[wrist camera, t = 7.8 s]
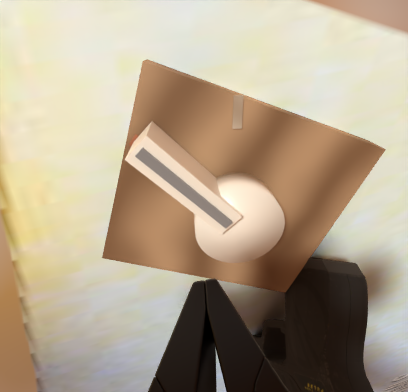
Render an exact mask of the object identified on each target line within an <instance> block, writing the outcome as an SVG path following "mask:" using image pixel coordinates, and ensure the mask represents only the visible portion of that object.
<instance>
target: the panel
mask: <svg viewBox="0 0 408 392" xmlns="http://www.w3.org/2000/svg"><path fill="white" fill-rule="evenodd" d="M152 121H153V122H154V123H155V124H156V125H157V126H158V127H159V128H160V129H162V130H163V131H164V132H165V133H166V134H167V135H168V136H169V137H171V138H172V139H173V140H174V141H175V142H176V143H177V144H178V145H180V146H181V147H182V148H183V149H184V150H185V151H186V152H187V153H189V154H190V155H191V156H192V157H193V158H194V159H195V160H196V161H198V162H199V163H200V164H201V165H202V166H203V167H204V168H205V169H207V170H208V171H209V172H210V173H211V174H212V175H213V176H214V177H216V178H217V177H219V176H222V175H225V174H229V173H246V174H250V175H253V176H255V177H257V178H259V179H261V180H262V181H263V182H264V183H265V184H266V185H267V186H268V187H269V189H270V191H271V192H272V194H273V196H274V197H275V199H276V200H277V202H278V204H279V205H280V207H281V209H282V211H283V213H284V218H285V226H284V231H283V234H282V236H281V238H280V240H279V241H278V242H277V244H276V245H275V246H274V247H273V248H272V249H271V250H270V251H269V252H267V253H266V254H264V255H263V256H261V257H259V258H256V259H254V260H251V261H247V262H242V263H227V262H222V261H219V260H216V259H214V258H212V257H210V256H208V255H207V254H206V253H205V252H204V251H203V250H202V249H201V248H200V246H199V245H198V242H197V240H196V236H195V224H194V213H193V212H191V211H190V210H189V209H188V208H186V207H185V206H184V205H182V204H181V203H180V202H179V201H177V200H176V199H175V198H173V197H172V196H171V195H169V194H168V193H167V192H166V191H164V190H163V189H162V188H160V187H159V186H158V185H157V184H155V183H154V182H153V181H151V180H150V179H149V178H147V177H146V176H145V175H144V174H142V173H141V172H140V171H138V170H137V169H136V168H135V167H133V166H132V165H131V164H129V163H128V162H127V161H126V160H125V158H126V156H127V154H128V152H129V150H130V148H131V146H132V144H133V142H134V141H135V140H136V139H137V138H138V136H139V135H140V134H141V133H142V132H143V131H144V130H145V128H146V127H147V126H148V125H149V124H150V123H151V122H152ZM385 150H386V149H384V148H382V147H380V146H378V145H376V144H374V143H372V142H370V141H368V140H365V139H363V138H360V137H357V136H354V135H352V134H349V133H346V132H343V131H341V130H338V129H335V128H333V127H330V126H327V125H324V124H322V123H319V122H316V121H313V120H311V119H308V118H305V117H303V116H300V115H297V114H294V113H292V112H289V111H286V110H283V109H281V108H278V107H275V106H273V105H270V104H267V103H264V102H262V101H259V100H256V99H254V98H251V97H248V96H245V95H243V94H240V93H237V92H234V91H232V90H229V89H226V88H224V87H221V86H218V85H215V84H213V83H210V82H207V81H204V80H202V79H199V78H196V77H194V76H191V75H188V74H185V73H183V72H180V71H177V70H174V69H172V68H169V67H166V66H164V65H161V64H158V63H155V62H153V61H150V60H145V61H143V63H142V68H141V73H140V78H139V83H138V88H137V92H136V97H135V102H134V107H133V112H132V117H131V121H130V126H129V131H128V136H127V141H126V146H125V150H124V155H123V160H122V165H121V170H120V175H119V179H118V184H117V189H116V194H115V199H114V204H113V208H112V213H111V218H110V223H109V228H108V233H107V238H106V242H105V247H104V252H103V257H102V258H105V259H110V260H116V261H121V262H126V263H131V264H137V265H142V266H147V267H153V268H158V269H163V270H168V271H174V272H179V273H184V274H189V275H195V276H200V277H205V278H211V279H214V278H215V279H217V280H221V281H226V282H232V283H237V284H242V285H247V286H253V287H258V288H263V289H269V290H274V291H279V292H284V293H286V291H287V290H288V289H289V287H290V286H291V284H292V283H293V281H294V280H295V278H296V277H297V276H298V274H299V273H300V271H301V270H302V268H303V267H304V266H305V264H306V263H307V261H308V259H309V258H310V257H311V256H312V254H313V253H314V251H315V250H316V248H317V247H318V246H319V244H320V243H321V241H322V240H323V238H324V237H325V236H326V234H327V233H328V231H329V230H330V228H331V227H332V226H333V224H334V223H335V221H336V220H337V218H338V217H339V216H340V214H341V213H342V211H343V210H344V208H345V207H346V206H347V204H348V203H349V201H350V200H351V198H352V197H353V195H354V194H355V193H356V191H357V190H358V188H359V187H360V185H361V184H362V183H363V181H364V180H365V178H366V177H367V175H368V174H369V173H370V171H371V170H372V168H373V167H374V165H375V164H376V163H377V161H378V160H379V158H380V157H381V155H382V154H383V153H384V151H385Z"/></svg>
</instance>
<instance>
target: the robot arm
mask: <svg viewBox="0 0 408 392" xmlns="http://www.w3.org/2000/svg"><path fill="white" fill-rule="evenodd" d="M215 347H216V351H217V355H218V359H219V363H220V367H221V371H222V375H223V379H224V383H225V387H226V391H227V392H289V390H288V389H287V388H286V387H285V385H284V384H283V382H282V381H281V379H280V378H279V376H278V375H277V373H276V372H275V370H274V369H273V367H272V366H271V364H270V363H269V361H268V359H267V358H266V357H265V355H264V353H263V352H262V350H261V349H260V347H259V345H258V344H257V342H256V341H255V339H254V338H253V336H252V334H251V333H250V331H249V330H248V328H247V326H246V325H245V323H244V322H243V320H242V319H241V317H240V315H239V314H238V312H237V311H236V309H235V308H234V306H233V304H232V303H231V301H230V300H229V298H228V296H227V295H226V293H225V292H224V290H223V289H222V287H221V285H220V284H219V282H218V281H217V279H215V278H214V279H208V280H206V281H197V282H194V283H193V284H192V287H191V289H190V292H189V294H188V296H187V299H186V301H185V304H184V306H183V309H182V311H181V313H180V316H179V318H178V321H177V323H176V325H175V328H174V330H173V333H172V335H171V338H170V340H169V342H168V345H167V347H166V350H165V352H164V354H163V357H162V359H161V362H160V364H159V367H158V369H157V371H156V374H155V376H156V377H154V378H153V381H152V383H151V386H150V388H149V391H148V392H216V351H215Z"/></svg>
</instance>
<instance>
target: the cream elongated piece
mask: <svg viewBox="0 0 408 392" xmlns="http://www.w3.org/2000/svg"><path fill="white" fill-rule="evenodd" d="M125 160H126V161H127V162H128V163H129V164H131V165H132V166H133V167H135V168H136V169H137V170H138V171H140V172H141V173H142V174H144V175H145V176H146V177H147V178H149V179H150V180H151V181H153V182H154V183H155V184H157V185H158V186H159V187H160V188H162V189H163V190H164V191H166V192H167V193H168V194H169V195H171V196H172V197H173V198H175V199H176V200H177V201H179V202H180V203H181V204H182V205H184V206H185V207H186V208H188V209H189V210H190V211H191V212H193V213H194V224H195V236H196V240H197V242H198V245H199V246H200V248H201V249H202V250H203V251H204V252H205V253H206V254H207V255H208V256H210V257H212V258H214V259H216V260H219V261H222V262H227V263H242V262H247V261H251V260H254V259H256V258H259V257H261V256H263V255H264V254H266V253H267V252H269V251H270V250H271V249H272V248H273V247H274V246H275V245H276V244H277V242H278V241H279V240H280V238H281V236H282V234H283V231H284V226H285V218H284V213H283V211H282V209H281V207H280V205H279V204H278V202H277V200H276V199H275V197H274V196H273V194H272V192H271V191H270V189H269V187H268V186H267V185H266V184H265V183H264V182H263V181H262V180H261V179H259V178H257V177H255V176H253V175H250V174H246V173H229V174H225V175H222V176H219V177H217V178H216V177H214V176H213V175H212V174H211V173H210V172H209V171H208V170H207V169H205V168H204V167H203V166H202V165H201V164H200V163H199V162H198V161H196V160H195V159H194V158H193V157H192V156H191V155H190V154H189V153H187V152H186V151H185V150H184V149H183V148H182V147H181V146H180V145H178V144H177V143H176V142H175V141H174V140H173V139H172V138H171V137H169V136H168V135H167V134H166V133H165V132H164V131H163V130H162V129H160V128H159V127H158V126H157V125H156V124H155V123H154V122H153V121H152V122H151V123H150V124H149V125H148V126H147V127H146V128H145V130H144V131H143V132H142V133H141V134H140V135H139V136H138V138H137V139H136V140H135V141H134V142H133V144H132V146H131V148H130V150H129V152H128V154H127V156H126V158H125Z"/></svg>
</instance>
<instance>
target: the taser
mask: <svg viewBox="0 0 408 392" xmlns="http://www.w3.org/2000/svg"><path fill="white" fill-rule="evenodd" d="M367 317H368V293H367V283H366V279H365V276H364V275H363V273H362V272H361V270H360V269H359V267H358V266H357V264H355V263H349V262H341V261H333V260H325V259H314V258H309V259H308V261H307V263H306V264H305V266H304V267H303V268H302V270H301V271H300V273H299V274H298V276H297V277H296V278H295V280H294V281H293V283H292V284H291V286H290V287H289V289H288V290H287V291H286V293H285V319H284V320H266V321H265V322H264V325H263V331H262V336H261V337H258V336H253V338H254V339H255V341H256V342H257V344H258V345H259V347H260V349H261V350H262V352H263V353H264V355H265V357H266V358H267V359H268V361H269V363H270V364H271V366H272V367H273V369H274V370H275V372H276V373H277V375H278V376H279V378H280V379H281V381H282V382H283V384H284V385H285V387H286V388H287V389H288V390H289V392H374V391H373V389H372V387H371V385H370V382H369V381H368V379H367V377H366V374H365V370H364V363H363V351H364V341H365V335H366V328H367Z"/></svg>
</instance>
